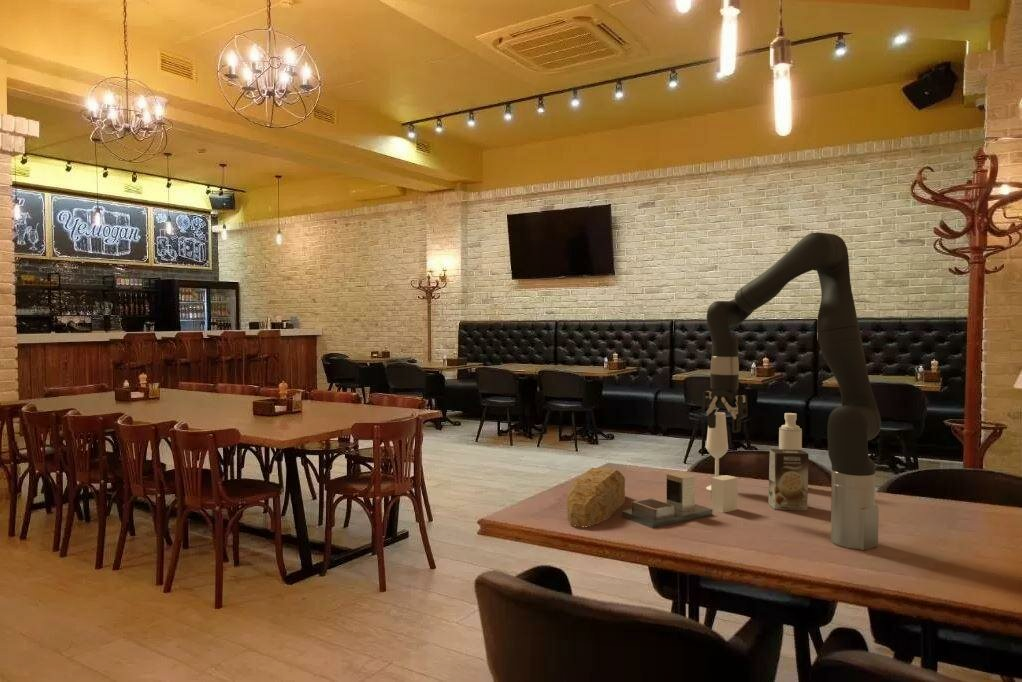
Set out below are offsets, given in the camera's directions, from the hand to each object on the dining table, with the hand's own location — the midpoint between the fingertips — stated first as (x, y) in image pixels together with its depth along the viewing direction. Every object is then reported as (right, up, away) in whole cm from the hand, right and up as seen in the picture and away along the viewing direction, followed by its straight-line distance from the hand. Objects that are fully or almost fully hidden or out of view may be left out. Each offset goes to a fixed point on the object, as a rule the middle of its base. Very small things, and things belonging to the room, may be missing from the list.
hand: (723, 430), depth 190 cm
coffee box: (+19, -22, +2) cm, 30 cm away
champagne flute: (+5, -22, +23) cm, 32 cm away
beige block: (0, -22, 0) cm, 22 cm away
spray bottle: (+29, -22, +25) cm, 44 cm away
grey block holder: (-17, -23, -5) cm, 29 cm away
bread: (-35, -23, +2) cm, 42 cm away
